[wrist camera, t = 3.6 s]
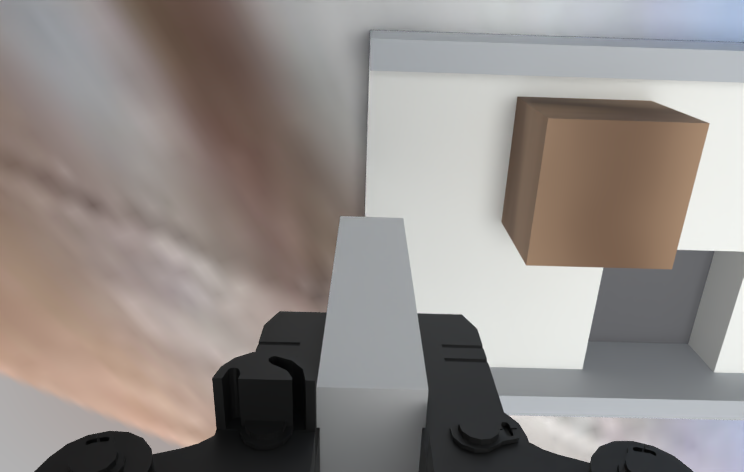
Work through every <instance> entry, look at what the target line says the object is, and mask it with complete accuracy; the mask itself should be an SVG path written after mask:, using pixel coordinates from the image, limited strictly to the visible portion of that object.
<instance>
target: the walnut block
mask: <svg viewBox="0 0 744 472" xmlns="http://www.w3.org/2000/svg"><path fill="white" fill-rule="evenodd" d="M709 124H710V123H708V122H705V121H702V120H700V119H697V118H695V117H692V116H690V115H687V114H684V113H682V112H679V111H677V110H674V109H672V108H669V107H666V106H664V105H661V104H659V103H656V102H654V101H646V100H614V99H583V98H551V97H520V96H517V104H516V112H515V119H514V127H513V135H512V143H511V151H510V159H509V166H508V174H507V182H506V190H505V198H504V206H503V213H502V221H501V222H502V224H503V226H504V228H505V229H506V231H507V233H508V235H509V236H510V238H511V240H512V242H513V243H514V245H515V247H516V249H517V250H518V252H519V254H520V256H521V257H522V259H523V261H524V263H525V264H526V265H527V266H564V267H602V268H639V269H672V267H673V263H674V260H675V256H676V252H677V248H678V244H679V240H680V236H681V233H682V229H683V225H684V221H685V217H686V213H687V209H688V206H689V202H690V198H691V194H692V190H693V186H694V182H695V179H696V175H697V171H698V167H699V163H700V159H701V155H702V151H703V148H704V144H705V140H706V136H707V132H708V128H709Z"/></svg>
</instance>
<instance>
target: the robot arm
mask: <svg viewBox="0 0 744 472" xmlns="http://www.w3.org/2000/svg"><path fill="white" fill-rule="evenodd" d="M212 381H213V392H214V404H215V415H216V427H217V430H216V433H215V435H214V436H213V437H211V438H209V439H207V440H205V441H203V442H200V443H198V444H195V445H192V446H188V447H185V448H181V449H176V450H172V451H167V452H163V453H157V454H153V455H152V450H151V448H150V447H149V445H148V444H147V443H146V442H145V440H144V439H143V438H141V437H139V436H136V435H134V434H132V433H129V432H118V431H107V432H102V433H97V434H92V435H88V436H85V437H83V438H80V439H78V440H76V441H74V442H71V443H69V444H67V445H65V446H64V447H63V448H61V449H60V450H59V451H57V452H56V453H55V454H53V455H52V456H50V457H49V458H48V459H47V460H46V461H45V462H44V463H43V464H42V465H41V466H40V467H39V468H38V469H37V470H36V471H35V472H693V471H692V470H691V469H690V468H688V467H687V466H686V465H685V464H683V463H682V462H681V461H680V460H678V459H677V458H676V457H674V456H673V455H671V454H668V453H666V452H664V451H662V450H660V449H658V448H656V447H654V446H650V445H646V444H642V443H638V442H634V441H613V442H611V443H608V444H605V445H603V446H600V447H599V448H598V449H597V451H596V452H595V453H594V454H593V456H592V457H591V461H590V463H588V462H584V461H580V460H576V459H573V458H569V457H565V456H561V455H557V454H555V453H552V452H549V451H546V450H543V449H541V448H539V447H537V446H535V445H533V444H531V443H529V441H528V438H527V436H526V434H525V433H524V431H523V430H522V428H521V426H520V425H519V423H517V422H516V421H515V420H513V419H512V418H511V417H510V416H508V415H507V414H506V413H504V410H503V407H502V404H501V401H500V398H499V395H498V392H497V389H496V386H495V382H494V379H493V376H492V373H491V370H490V367H489V364H488V363H487V358H486V354H485V351H484V349H483V345H482V342H481V339H480V336H479V333H478V330H477V328H476V327H475V326H474V325H473V324H472V323H471V322H469V321H468V320H467V319H466V318H465V317H464V316H463V315H462V314H426V313H417V308H416V301H415V294H414V288H413V281H412V274H411V267H410V260H409V254H408V247H407V240H406V233H405V226H404V220H403V218H386V217H352V216H340V223H339V230H338V237H337V244H336V251H335V258H334V265H333V272H332V280H331V287H330V294H329V301H328V308H327V313H320V312H283V311H280V312H278V313H277V314H276V315H275V316H274V317H273V318H272V319H271V320H269V321H268V322H267V323H266V324H265V325H264V328H263V331H262V334H261V337H260V340H259V345H258V346H257V349H256V352H252V353H249V354H246V355H243V356H239V357H236V358H234V359H232V360H231V361H229V362H228V363H226V364H225V365H223V366H221V367H220V369H219V370H218V371H217V373H216V374H215V375H214V377H213V378H212Z"/></svg>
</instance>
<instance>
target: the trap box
mask: <svg viewBox="0 0 744 472" xmlns="http://www.w3.org/2000/svg"><path fill="white" fill-rule="evenodd" d="M517 96H520V97H551V98H583V99H614V100H646V101H654V102H656V103H659V104H661V105H664V106H666V107H669V108H672V109H674V110H677V111H679V112H682V113H684V114H687V115H690V116H692V117H695V118H697V119H700V120H702V121H705V122H708V123H710V124H709V128H708V132H707V136H706V140H705V144H704V148H703V151H702V155H701V159H700V163H699V167H698V171H697V175H696V179H695V182H694V186H693V190H692V194H691V198H690V202H689V206H688V209H687V213H686V217H685V221H684V225H683V229H682V233H681V236H680V240H679V244H678V248H677V252H676V256H675V260H674V263H673V267H672V269H639V268H602V267H564V266H527V265H526V264H525V263H524V261H523V259H522V257H521V256H520V254H519V252H518V250H517V249H516V247H515V245H514V243H513V242H512V240H511V238H510V236H509V235H508V233H507V231H506V229H505V228H504V226H503V224H502V222H501V221H502V213H503V206H504V198H505V190H506V182H507V174H508V166H509V159H510V151H511V143H512V135H513V127H514V119H515V112H516V104H517ZM365 217H386V218H403V220H404V226H405V233H406V240H407V247H408V254H409V260H410V267H411V274H412V281H413V288H414V294H415V301H416V308H417V313H426V314H462V315H463V316H464V317H465V318H466V319H467V320H468V321H469V322H471V323H472V324H473V325H474V326H475V327H476V328H477V330H478V333H479V336H480V339H481V342H482V345H483V349H484V351H485V354H486V358H487V363H488V364H489V367H490V370H491V373H492V376H493V379H494V382H495V386H496V389H497V392H498V395H499V398H500V401H501V404H502V407H503V410H504V413H506V414H507V415H527V416H572V417H617V418H662V419H707V420H744V42H714V41H685V40H655V39H625V38H595V37H566V36H536V35H506V34H476V33H447V32H417V31H387V30H370V54H369V88H368V123H367V157H366V191H365Z"/></svg>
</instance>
